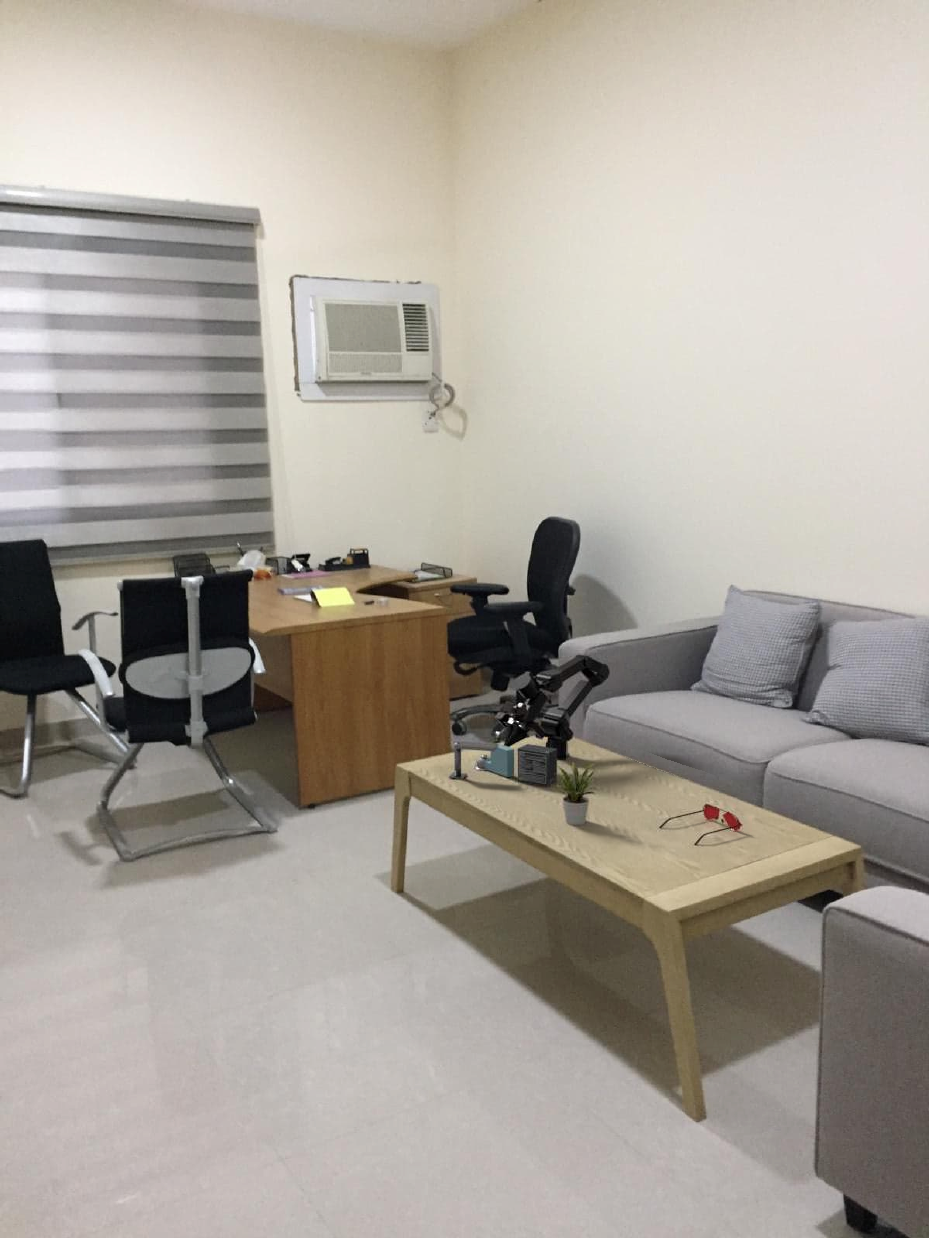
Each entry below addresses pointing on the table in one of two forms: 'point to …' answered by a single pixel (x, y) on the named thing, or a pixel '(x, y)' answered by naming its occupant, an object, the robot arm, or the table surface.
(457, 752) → the keeper
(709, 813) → the glasses
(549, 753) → the small box
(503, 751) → the link
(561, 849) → the table surface
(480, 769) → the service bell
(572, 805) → the house plant
